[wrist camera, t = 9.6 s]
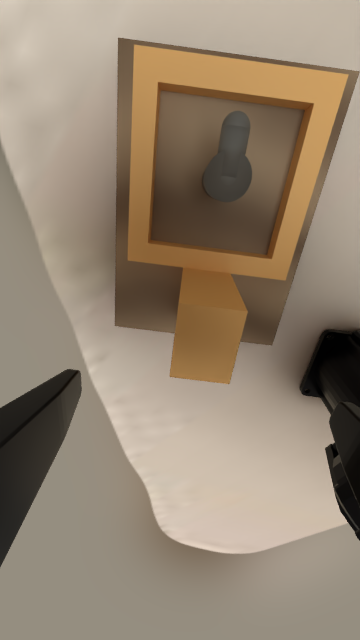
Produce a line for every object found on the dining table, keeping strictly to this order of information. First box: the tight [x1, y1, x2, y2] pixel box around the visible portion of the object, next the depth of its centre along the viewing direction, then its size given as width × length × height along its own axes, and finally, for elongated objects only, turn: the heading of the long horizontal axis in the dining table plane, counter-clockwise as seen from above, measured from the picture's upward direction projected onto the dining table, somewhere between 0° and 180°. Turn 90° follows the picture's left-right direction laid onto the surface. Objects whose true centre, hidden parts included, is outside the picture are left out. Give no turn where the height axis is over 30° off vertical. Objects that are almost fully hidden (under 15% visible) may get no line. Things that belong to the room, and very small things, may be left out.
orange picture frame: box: [128, 45, 349, 384], centre depth 13 cm, size 14×10×7 cm
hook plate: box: [115, 38, 359, 345], centre depth 15 cm, size 16×12×6 cm
